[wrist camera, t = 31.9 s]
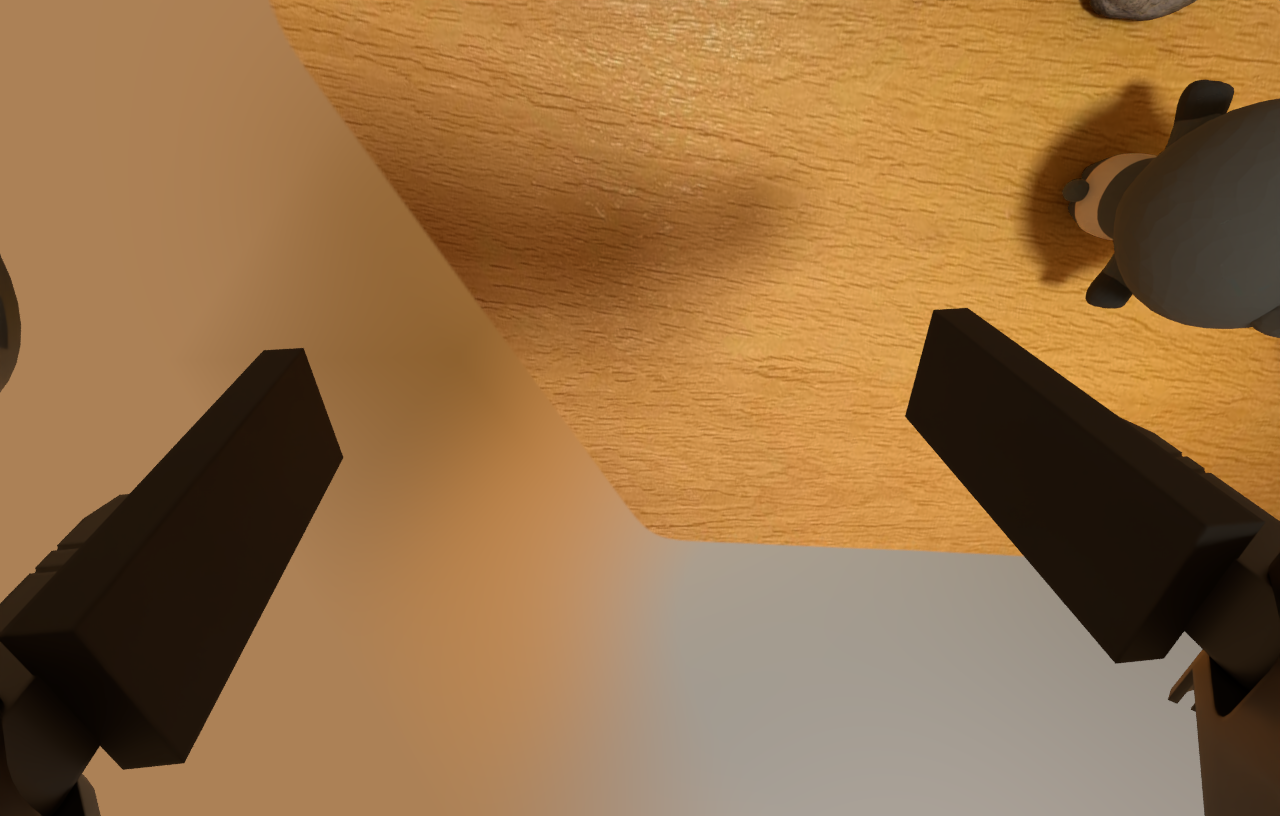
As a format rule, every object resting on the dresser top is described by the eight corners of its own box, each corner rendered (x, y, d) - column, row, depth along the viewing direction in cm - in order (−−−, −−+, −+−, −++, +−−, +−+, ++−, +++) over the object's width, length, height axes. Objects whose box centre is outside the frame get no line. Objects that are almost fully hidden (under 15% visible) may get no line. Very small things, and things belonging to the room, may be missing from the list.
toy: (1122, 293, 40) (1393, 392, 26) (978, 276, 38) (1188, 372, 25) (1222, 97, 34) (1623, 99, 21) (1059, 69, 33) (1380, 52, 20)
